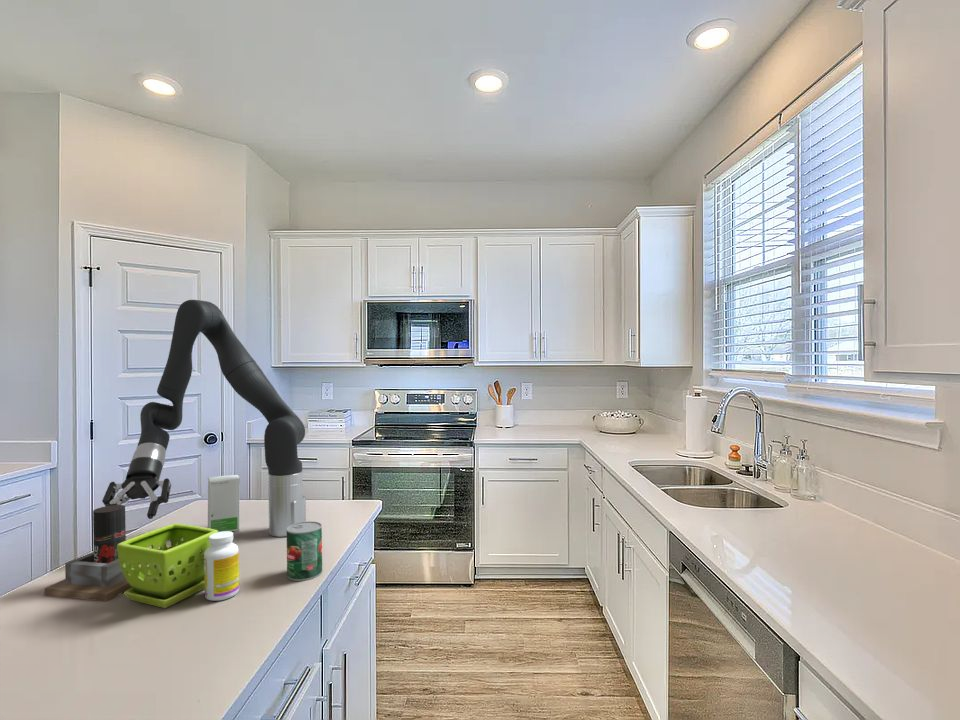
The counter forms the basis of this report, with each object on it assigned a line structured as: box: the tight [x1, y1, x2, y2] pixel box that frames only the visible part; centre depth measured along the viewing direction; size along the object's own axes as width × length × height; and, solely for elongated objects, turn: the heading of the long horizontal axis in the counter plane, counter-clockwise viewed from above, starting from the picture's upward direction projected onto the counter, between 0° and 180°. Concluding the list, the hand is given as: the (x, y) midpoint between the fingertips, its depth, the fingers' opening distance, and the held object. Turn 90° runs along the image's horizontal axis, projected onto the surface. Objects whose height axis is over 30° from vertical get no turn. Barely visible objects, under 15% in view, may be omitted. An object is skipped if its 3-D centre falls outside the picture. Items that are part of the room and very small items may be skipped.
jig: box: [44, 544, 171, 602], centre depth 119 cm, size 16×22×6 cm
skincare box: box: [207, 474, 241, 532], centre depth 150 cm, size 8×7×16 cm
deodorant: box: [92, 504, 127, 564], centre depth 116 cm, size 6×6×15 cm
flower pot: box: [117, 523, 218, 609], centre depth 109 cm, size 14×14×13 cm
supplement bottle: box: [204, 531, 240, 602], centre depth 109 cm, size 7×7×13 cm
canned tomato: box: [285, 520, 324, 582], centre depth 119 cm, size 8×8×11 cm
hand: (130, 518), depth 127 cm, fingers open, 8 cm apart
